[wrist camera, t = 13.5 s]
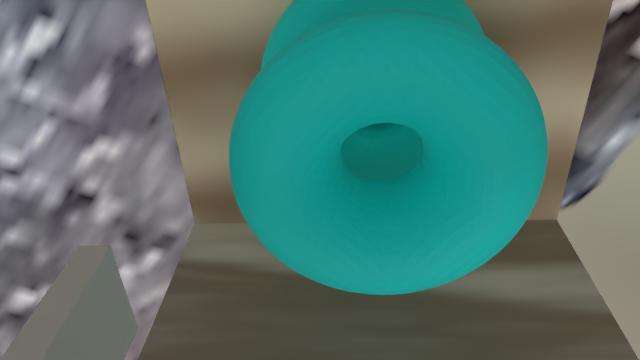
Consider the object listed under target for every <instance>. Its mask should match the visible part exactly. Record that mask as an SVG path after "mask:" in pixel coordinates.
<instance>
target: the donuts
mask: <svg viewBox="0 0 640 360" xmlns="http://www.w3.org/2000/svg"><path fill="white" fill-rule="evenodd" d="M547 158H548V140H547V132H546V125H545V119H544V115H543V112H542V108H541V105H540V103H539V100H538V97H537V95H536V93H535V91H534V89H533V87H532V85H531V84H530V82H529V80H528V79H527V77H526V76H525V75H524V73H523V72H522V70H521V69H520V68H519V66H518V65H517V64H516V63H515V62H514V60H513V59H512V58H511V57H510V56H509V55H508V54H507V53H506V52H505V51H504V50H503V49H502V48H500V47H499V46H498V45H497V44H496V43H494V42H493V41H492V40H490V39H489V38H488V37H486V36H485V35H484V32H483V30H482V28H481V25H480V23H479V22H478V20H477V18H476V16H475V15H474V13H473V12H472V11H471V9H470V8H469V7H468V6H467V4H466V3H465V2H464V1H463V0H294V1H293V2H292V3H291V4H290V5H289V6H288V8H287V9H286V10H285V11H284V13H283V14H282V16H281V17H280V18H279V20H278V22H277V23H276V25H275V27H274V29H273V31H272V33H271V35H270V37H269V40H268V42H267V45H266V48H265V51H264V55H263V60H262V66H261V70H260V72H259V73H258V74H257V76H256V77H255V78H254V80H253V81H252V83H251V84H250V86H249V88H248V89H247V91H246V93H245V95H244V97H243V99H242V101H241V103H240V106H239V108H238V111H237V113H236V116H235V120H234V123H233V127H232V131H231V136H230V143H229V168H230V177H231V183H232V188H233V192H234V195H235V198H236V201H237V204H238V206H239V209H240V211H241V213H242V215H243V217H244V218H245V220H246V222H247V224H248V225H249V227H250V228H251V230H252V231H253V233H254V234H255V235H256V237H257V238H258V239H259V241H260V242H261V243H262V244H263V245H264V246H265V247H266V248H267V249H268V250H269V251H270V252H271V253H272V254H273V255H274V256H275V257H276V258H277V259H278V260H280V261H281V262H282V263H284V264H285V265H286V266H288V267H289V268H291V269H292V270H294V271H296V272H297V273H299V274H301V275H303V276H305V277H307V278H309V279H311V280H313V281H316V282H318V283H321V284H323V285H326V286H329V287H332V288H336V289H340V290H344V291H348V292H354V293H362V294H370V295H396V294H405V293H412V292H417V291H421V290H426V289H431V288H434V287H437V286H440V285H443V284H446V283H449V282H451V281H454V280H456V279H458V278H460V277H462V276H464V275H466V274H468V273H470V272H471V271H473V270H475V269H477V268H478V267H480V266H481V265H483V264H484V263H486V262H487V261H489V260H490V259H491V258H492V257H494V256H495V255H496V254H497V253H499V252H500V251H501V250H502V249H503V248H504V247H505V246H506V245H507V244H508V243H509V242H510V241H511V240H512V239H513V237H514V236H515V235H516V234H517V233H518V231H519V230H520V229H521V227H522V226H523V225H524V223H525V222H526V220H527V218H528V217H529V215H530V213H531V211H532V209H533V207H534V205H535V203H536V201H537V198H538V196H539V194H540V191H541V188H542V185H543V181H544V177H545V173H546V167H547Z"/></svg>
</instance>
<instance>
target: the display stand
mask: <svg viewBox="0 0 640 360" xmlns="http://www.w3.org/2000/svg"><path fill="white" fill-rule="evenodd" d="M293 1H294V0H146V4H147V8H148V13H149V17H150V22H151V26H152V31H153V35H154V40H155V45H156V49H157V54H158V58H159V63H160V67H161V72H162V76H163V81H164V85H165V90H166V94H167V99H168V103H169V108H170V112H171V117H172V121H173V126H174V130H175V135H176V139H177V144H178V148H179V153H180V157H181V162H182V166H183V171H184V175H185V180H186V185H187V189H188V194H189V198H190V203H191V207H192V212H193V216H194V221H195V225H194V227H193V230H192V232H191V234H190V237H189V239H188V242H187V244H186V246H185V249H184V251H183V254H182V256H181V258H180V261H179V263H178V265H177V268H176V270H175V273H174V275H173V277H172V280H171V282H170V285H169V287H168V289H167V292H166V294H165V297H164V299H163V301H162V304H161V306H160V309H159V311H158V313H157V316H156V318H155V321H154V323H153V325H152V328H151V330H150V333H149V335H148V337H147V340H146V342H145V345H144V347H143V349H142V352H141V354H140V357H139V359H138V360H639V359H638V358H637V356H636V354H635V353H634V351H633V349H632V347H631V346H630V344H629V342H628V341H627V339H626V337H625V336H624V334H623V332H622V330H621V329H620V327H619V325H618V324H617V322H616V320H615V318H614V317H613V315H612V313H611V312H610V310H609V308H608V307H607V305H606V303H605V301H604V300H603V298H602V296H601V295H600V293H599V291H598V289H597V288H596V286H595V284H594V283H593V281H592V279H591V278H590V276H589V274H588V272H587V271H586V269H585V267H584V266H583V264H582V262H581V260H580V259H579V257H578V255H577V254H576V252H575V250H574V249H573V247H572V245H571V243H570V242H569V240H568V238H567V237H566V235H565V233H564V232H563V230H562V228H561V227H560V225H559V223H558V221H557V217H558V213H559V209H560V205H561V201H562V197H563V193H564V189H565V185H566V181H567V177H568V174H569V170H570V166H571V162H572V158H573V154H574V150H575V146H576V142H577V138H578V134H579V130H580V127H581V123H582V119H583V115H584V111H585V107H586V103H587V99H588V95H589V91H590V87H591V83H592V80H593V76H594V72H595V68H596V64H597V60H598V56H599V52H600V48H601V44H602V40H603V36H604V33H605V29H606V25H607V21H608V17H609V13H610V9H611V5H612V1H613V0H463V1H464V2H465V3H466V4H467V6H468V7H469V8H470V9H471V11H472V12H473V13H474V15H475V16H476V18H477V20H478V22H479V23H480V25H481V28H482V30H483V32H484V35H485V36H486V37H488V38H489V39H490V40H492V41H493V42H494V43H496V44H497V45H498V46H499V47H500V48H502V49H503V50H504V51H505V52H506V53H507V54H508V55H509V56H510V57H511V58H512V59H513V60H514V62H515V63H516V64H517V65H518V66H519V68H520V69H521V70H522V72H523V73H524V75H525V76H526V77H527V79H528V80H529V82H530V84H531V85H532V87H533V89H534V91H535V93H536V95H537V97H538V100H539V103H540V105H541V108H542V112H543V115H544V119H545V125H546V132H547V140H548V158H547V167H546V173H545V177H544V181H543V185H542V188H541V191H540V194H539V196H538V198H537V201H536V203H535V205H534V207H533V209H532V211H531V213H530V215H529V217H528V218H527V220H526V222H525V223H524V225H523V226H522V227H521V229H520V230H519V231H518V233H517V234H516V235H515V236H514V237H513V239H512V240H511V241H510V242H509V243H508V244H507V245H506V246H505V247H504V248H503V249H502V250H501V251H500V252H499V253H497V254H496V255H495V256H494V257H492V258H491V259H490V260H489V261H487V262H486V263H484V264H483V265H481V266H480V267H478V268H477V269H475V270H473V271H471V272H470V273H468V274H466V275H464V276H462V277H460V278H458V279H456V280H454V281H451V282H449V283H446V284H443V285H440V286H437V287H434V288H431V289H426V290H421V291H417V292H412V293H405V294H396V295H370V294H362V293H354V292H348V291H344V290H340V289H336V288H332V287H329V286H326V285H323V284H321V283H318V282H316V281H313V280H311V279H309V278H307V277H305V276H303V275H301V274H299V273H297V272H296V271H294V270H292V269H291V268H289V267H288V266H286V265H285V264H284V263H282V262H281V261H280V260H278V259H277V258H276V257H275V256H274V255H273V254H272V253H271V252H270V251H269V250H268V249H267V248H266V247H265V246H264V245H263V244H262V243H261V242H260V241H259V239H258V238H257V237H256V235H255V234H254V233H253V231H252V230H251V228H250V227H249V225H248V224H247V222H246V220H245V218H244V217H243V215H242V213H241V211H240V209H239V206H238V204H237V201H236V198H235V195H234V192H233V188H232V183H231V177H230V168H229V143H230V136H231V131H232V127H233V123H234V120H235V116H236V113H237V111H238V108H239V106H240V103H241V101H242V99H243V97H244V95H245V93H246V91H247V89H248V88H249V86H250V84H251V83H252V81H253V80H254V78H255V77H256V76H257V74H258V73H259V72H260V70H261V66H262V60H263V55H264V51H265V48H266V45H267V42H268V40H269V37H270V35H271V33H272V31H273V29H274V27H275V25H276V23H277V22H278V20H279V18H280V17H281V16H282V14H283V13H284V11H285V10H286V9H287V8H288V6H289V5H290V4H291V3H292V2H293Z"/></svg>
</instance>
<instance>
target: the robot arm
mask: <svg viewBox="0 0 640 360" xmlns="http://www.w3.org/2000/svg"><path fill="white" fill-rule="evenodd" d="M137 328H138V327H137V324H136V321H135V318H134V315H133V312H132V309H131V306H130V303H129V300H128V298H127V295H126V292H125V289H124V286H123V283H122V280H121V277H120V274H119V271H118V268H117V265H116V262H115V260H114V257H113V254H112V251H111V248H110V246H78V247H77V249H76V250H75V251H74V253H73V254H72V256H71V257H70V259H69V260H68V262H67V263H66V265H65V266H64V268H63V269H62V270H61V272H60V273H59V275H58V276H57V278H56V279H55V281H54V282H53V284H52V285H51V287H50V288H49V290H48V291H47V292H46V294H45V295H44V297H43V298H42V300H41V301H40V303H39V304H38V306H37V307H36V309H35V310H34V311H33V313H32V314H31V316H30V317H29V319H28V320H27V322H26V323H25V325H24V326H23V328H22V329H21V330H20V332H19V333H18V335H17V336H16V338H15V339H14V341H13V342H12V344H11V345H10V347H9V348H8V349H7V351H6V352H5V354H4V355H3V357H2V358H1V360H124V358H125V356H126V353H127V351H128V349H129V347H130V344H131V342H132V340H133V337H134V335H135V333H136V330H137Z"/></svg>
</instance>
